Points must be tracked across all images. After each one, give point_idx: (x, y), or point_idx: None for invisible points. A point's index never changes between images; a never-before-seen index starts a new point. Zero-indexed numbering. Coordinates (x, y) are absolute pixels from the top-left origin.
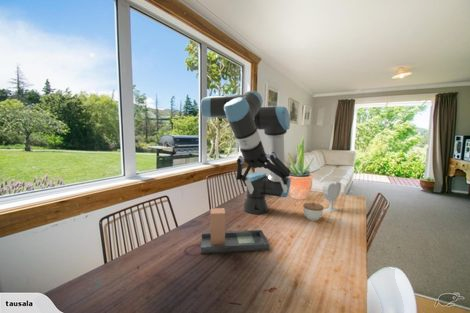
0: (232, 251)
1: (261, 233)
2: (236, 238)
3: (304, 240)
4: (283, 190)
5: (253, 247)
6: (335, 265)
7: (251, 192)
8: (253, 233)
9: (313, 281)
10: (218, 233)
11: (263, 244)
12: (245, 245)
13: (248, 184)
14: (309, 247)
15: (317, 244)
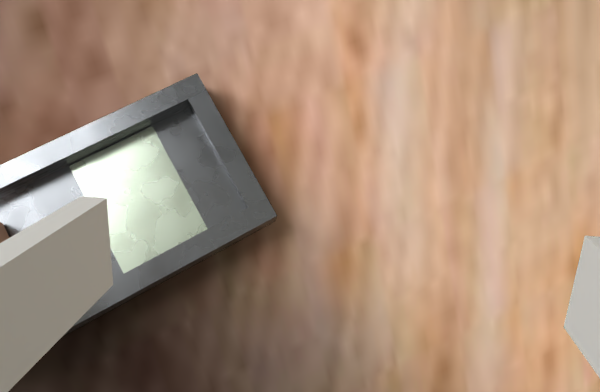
0: (97, 317)
1: (207, 114)
2: (76, 191)
3: (422, 62)
4: (585, 354)
5: (200, 259)
6: (571, 230)
7: (103, 290)
8: (159, 116)
9: (504, 387)
10: None
11: (249, 230)
12: (157, 280)
13: (14, 361)
14: (453, 121)
15: (484, 79)
